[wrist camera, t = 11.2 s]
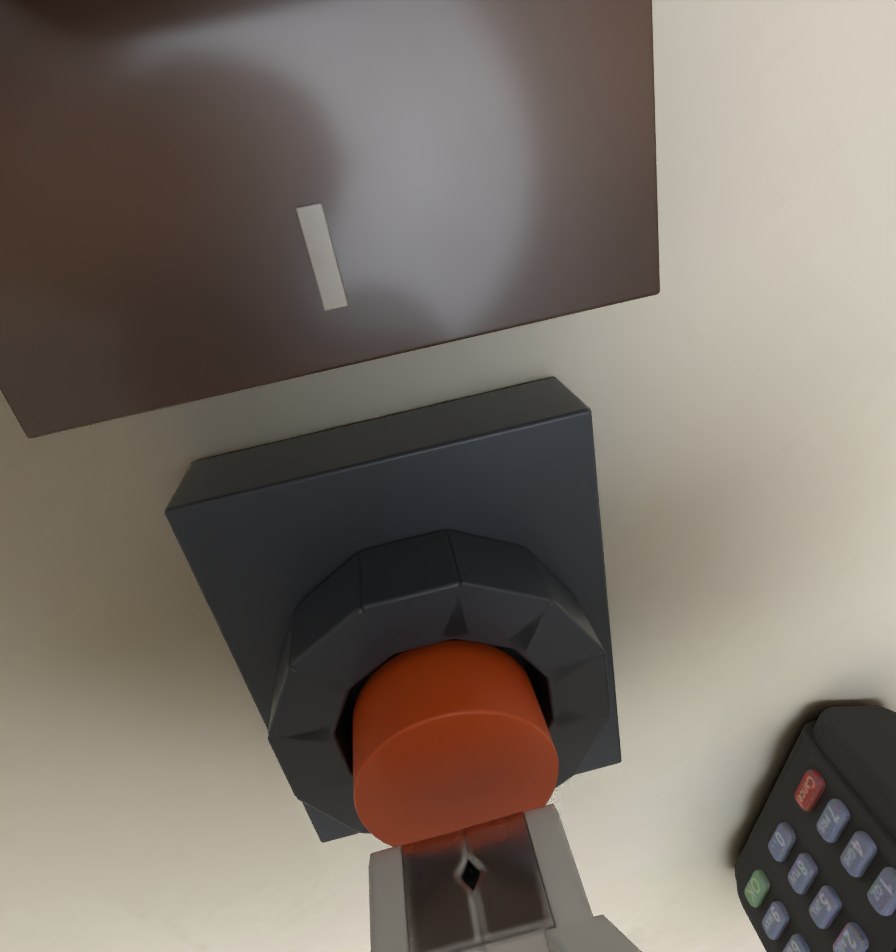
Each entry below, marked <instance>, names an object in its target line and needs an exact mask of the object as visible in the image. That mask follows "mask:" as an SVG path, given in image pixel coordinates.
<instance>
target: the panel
mask: <svg viewBox="0 0 896 952" xmlns="http://www.w3.org/2000/svg"><path fill="white" fill-rule="evenodd" d="M659 292H660V279H659V242H658V206H657V170H656V134H655V97H654V61H653V25H652V0H0V390H1V391H2V393H3V395H4V397H5V398H6V400H7V402H8V404H9V406H10V407H11V409H12V411H13V413H14V414H15V416H16V418H17V420H18V422H19V423H20V425H21V427H22V429H23V431H24V432H25V434H26V436H27V437H28V438H35V437H40V436H44V435H48V434H53V433H57V432H61V431H66V430H70V429H74V428H79V427H83V426H88V425H92V424H96V423H101V422H105V421H109V420H114V419H118V418H122V417H127V416H131V415H135V414H140V413H144V412H148V411H153V410H157V409H161V408H166V407H170V406H174V405H179V404H183V403H187V402H192V401H196V400H200V399H205V398H209V397H213V396H218V395H222V394H226V393H231V392H235V391H240V390H244V389H248V388H253V387H257V386H261V385H266V384H270V383H274V382H279V381H283V380H287V379H292V378H296V377H300V376H305V375H309V374H313V373H318V372H322V371H326V370H331V369H335V368H339V367H344V366H348V365H352V364H357V363H361V362H365V361H370V360H374V359H378V358H383V357H387V356H392V355H396V354H400V353H405V352H409V351H413V350H418V349H422V348H426V347H431V346H435V345H439V344H444V343H448V342H452V341H457V340H461V339H465V338H470V337H474V336H478V335H483V334H487V333H491V332H496V331H500V330H504V329H509V328H513V327H517V326H522V325H526V324H530V323H535V322H539V321H544V320H548V319H552V318H557V317H561V316H565V315H570V314H574V313H578V312H583V311H587V310H591V309H596V308H600V307H604V306H609V305H613V304H617V303H622V302H626V301H630V300H635V299H639V298H643V297H648V296H652V295H656V294H658V293H659Z"/></svg>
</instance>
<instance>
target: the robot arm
mask: <svg viewBox="0 0 896 952" xmlns="http://www.w3.org/2000/svg"><path fill="white" fill-rule="evenodd" d="M369 899H370V937H371V952H641V951H640V950H639V949H638V948H637V947H636V946H635V945H634V944H633V943H632V942H631V941H630V940H629V939H628V938H627V937H626V936H625V935H624V934H623V933H622V932H621V931H619V930H618V929H617V928H616V927H615V926H614V925H613V924H612V923H611V922H610V921H609V920H608V919H607V918H606V917H605V916H604V915H599V916H595V917H593V915H592V912H591V909H590V906H589V903H588V900H587V897H586V894H585V891H584V888H583V885H582V882H581V879H580V876H579V873H578V870H577V867H576V864H575V861H574V858H573V855H572V852H571V849H570V846H569V843H568V840H567V837H566V834H565V831H564V828H563V825H562V822H561V819H560V816H559V813H558V811H557V809H556V808H555V806H554V804H550V805H547V806H543V807H539V808H536V809H532V810H529V811H525V812H524V813H522V812H519V813H515V814H512V815H509V816H505V817H502V818H498V819H495V820H491V821H488V822H484V823H481V824H478V825H474V826H471V827H467V828H464V829H462V830H458V831H454V832H451V833H447V834H443V835H440V836H436V837H432V838H428V839H425V840H421V841H417V842H413V843H410V844H406V845H399V846H396V847H392V848H389V849H385V850H382V851H378V852H374V853H371V855H370V862H369Z"/></svg>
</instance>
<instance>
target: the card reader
mask: <svg viewBox="0 0 896 952" xmlns="http://www.w3.org/2000/svg"><path fill="white" fill-rule="evenodd" d="M735 877H736V880H737V891H738V896H739V898H740V901H741V903H742V906H743V908H744V910H745V912H746V914H747V915H748V917H749V919H750V921H751V923H752V925H753V927H754V929H755V931H756V932H757V934H758V936H759V938H760V940H761V942H762V944H763V946H764V948H765V949H766V951H767V952H896V712H893V711H891V710H889V709H886V708H884V707H881V706H879V705H872V706H843V707H830V708H826V709H825V710H824V711H823V712H822V713H821V714H820V716H819V718H818V720H814V721H811V722H808V723H805V725H804V727H803V729H802V731H801V733H800V735H799V737H798V739H797V741H796V743H795V745H794V747H793V749H792V751H791V753H790V755H789V757H788V759H787V761H786V763H785V765H784V767H783V769H782V771H781V773H780V775H779V777H778V779H777V781H776V783H775V785H774V788H773V790H772V792H771V794H770V796H769V798H768V800H767V802H766V804H765V806H764V808H763V810H762V812H761V814H760V816H759V818H758V820H757V822H756V824H755V826H754V828H753V830H752V832H751V834H750V836H749V838H748V840H747V842H746V844H745V846H744V848H743V850H742V852H741V854H740V856H739V858H738V860H737V862H736V864H735Z"/></svg>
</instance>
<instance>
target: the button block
mask: <svg viewBox="0 0 896 952" xmlns="http://www.w3.org/2000/svg"><path fill="white" fill-rule="evenodd" d="M165 515H166V517H167V519H168V521H169V523H170V525H171V527H172V529H173V532H174V534H175V536H176V538H177V540H178V542H179V544H180V546H181V548H182V551H183V553H184V555H185V557H186V559H187V561H188V563H189V565H190V567H191V569H192V572H193V574H194V576H195V578H196V580H197V582H198V584H199V586H200V588H201V590H202V593H203V595H204V597H205V599H206V601H207V603H208V605H209V607H210V609H211V611H212V614H213V616H214V618H215V620H216V622H217V624H218V626H219V628H220V630H221V632H222V635H223V637H224V639H225V641H226V643H227V645H228V647H229V649H230V651H231V653H232V656H233V658H234V660H235V662H236V664H237V666H238V668H239V670H240V672H241V675H242V677H243V679H244V681H245V683H246V685H247V687H248V689H249V691H250V693H251V696H252V698H253V700H254V702H255V704H256V706H257V708H258V710H259V712H260V714H261V717H262V719H263V721H264V723H265V725H266V727H267V729H268V734H269V735H268V740H269V743H270V745H271V747H272V749H273V751H274V753H275V755H276V757H277V759H278V761H279V763H280V765H281V768H282V770H283V772H284V774H285V776H286V778H287V780H288V782H289V784H290V786H291V788H292V790H293V793H294V795H295V796H296V797H297V799H298V800H300V801H302V803H303V805H304V807H305V809H306V811H307V813H308V815H309V817H310V820H311V822H312V824H313V826H314V828H315V830H316V832H317V834H318V836H319V838H320V841H321V842H328V841H331V840H335V839H339V838H342V837H346V836H350V835H353V834H357V833H370V832H369V831H368V830H367V829H366V827H365V826H364V825H363V824H362V822H361V820H360V818H359V816H358V814H357V812H356V809H355V805H354V797H353V710H354V706H355V702H356V699H357V697H358V695H359V693H360V691H361V689H362V687H363V686H364V684H365V683H366V681H367V680H368V679H369V678H370V677H371V675H372V674H373V673H374V672H375V671H376V670H377V669H379V668H380V667H381V666H382V665H383V664H385V663H386V662H387V661H389V660H390V659H392V658H393V657H395V656H397V655H399V654H401V653H402V652H405V651H407V650H411V649H415V648H419V647H423V646H427V645H431V644H435V643H439V642H443V641H447V640H465V641H471V642H477V643H483V644H488V645H490V646H493V647H496V648H498V649H500V650H502V651H504V652H505V653H507V654H508V655H510V656H511V657H512V658H514V659H515V660H516V661H517V662H518V663H519V664H520V665H521V666H522V667H523V669H524V670H525V672H526V673H527V675H528V677H529V679H530V681H531V684H532V687H533V690H534V692H535V695H536V698H537V700H538V703H539V706H540V708H541V711H542V714H543V717H544V719H545V722H546V725H547V727H548V730H549V733H550V736H551V738H552V741H553V744H554V746H555V749H556V752H557V756H558V763H559V771H558V779H557V783H556V786H555V788H556V787H558V786H559V785H561V784H562V783H564V782H565V781H566V780H568V779H569V778H571V777H572V776H574V775H576V774H580V773H583V772H587V771H591V770H594V769H598V768H602V767H606V766H609V765H613V764H617V763H620V762H621V750H620V738H619V727H618V715H617V703H616V692H615V680H614V669H613V657H612V646H611V634H610V623H609V611H608V599H607V588H606V576H605V565H604V553H603V542H602V530H601V519H600V507H599V495H598V484H597V472H596V461H595V449H594V438H593V426H592V415H591V410H590V408H588V407H587V406H586V405H585V404H584V403H583V402H582V401H581V400H580V399H579V398H578V397H576V396H575V395H574V394H573V393H572V392H571V391H570V390H569V389H568V388H567V387H566V386H564V385H563V384H562V383H561V382H560V381H559V380H558V379H557V378H555V377H552V378H548V379H544V380H539V381H535V382H531V383H527V384H522V385H518V386H514V387H510V388H505V389H501V390H497V391H493V392H488V393H484V394H480V395H476V396H471V397H467V398H463V399H459V400H454V401H450V402H446V403H442V404H437V405H433V406H429V407H425V408H420V409H416V410H412V411H408V412H403V413H399V414H395V415H391V416H386V417H382V418H378V419H374V420H369V421H365V422H361V423H357V424H352V425H348V426H344V427H340V428H335V429H331V430H327V431H323V432H318V433H314V434H310V435H306V436H301V437H297V438H293V439H289V440H284V441H280V442H276V443H272V444H267V445H263V446H259V447H255V448H250V449H246V450H242V451H238V452H233V453H229V454H225V455H221V456H216V457H212V458H208V459H204V460H199V461H195V462H193V463H191V465H190V467H189V469H188V470H187V472H186V474H185V476H184V477H183V479H182V481H181V483H180V484H179V486H178V488H177V490H176V491H175V493H174V495H173V497H172V498H171V500H170V502H169V504H168V505H167V507H166V509H165ZM370 834H371V833H370Z"/></svg>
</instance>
